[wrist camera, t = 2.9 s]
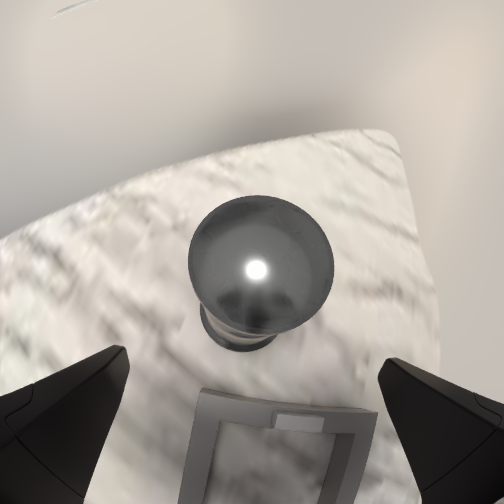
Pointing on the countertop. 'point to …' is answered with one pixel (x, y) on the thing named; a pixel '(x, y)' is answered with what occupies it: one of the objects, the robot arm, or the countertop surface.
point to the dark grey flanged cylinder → (258, 270)
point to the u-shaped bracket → (283, 418)
